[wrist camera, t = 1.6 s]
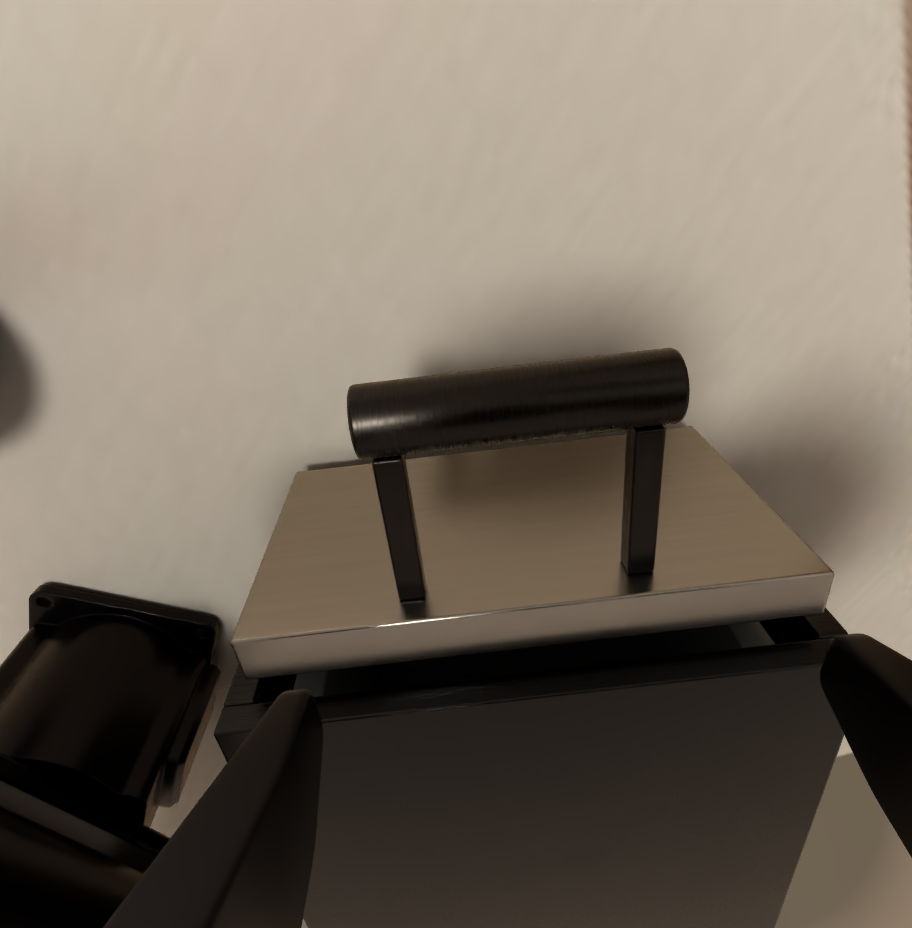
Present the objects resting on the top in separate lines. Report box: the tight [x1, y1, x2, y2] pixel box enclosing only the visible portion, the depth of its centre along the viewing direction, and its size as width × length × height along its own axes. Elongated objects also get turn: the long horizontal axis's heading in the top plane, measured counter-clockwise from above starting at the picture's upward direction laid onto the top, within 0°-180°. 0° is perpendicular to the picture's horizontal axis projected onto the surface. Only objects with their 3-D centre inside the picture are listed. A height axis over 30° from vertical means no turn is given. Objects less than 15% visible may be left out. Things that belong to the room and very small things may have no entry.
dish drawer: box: [231, 348, 834, 697], centre depth 17 cm, size 17×13×7 cm
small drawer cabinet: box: [214, 608, 848, 928], centre depth 19 cm, size 13×14×9 cm
